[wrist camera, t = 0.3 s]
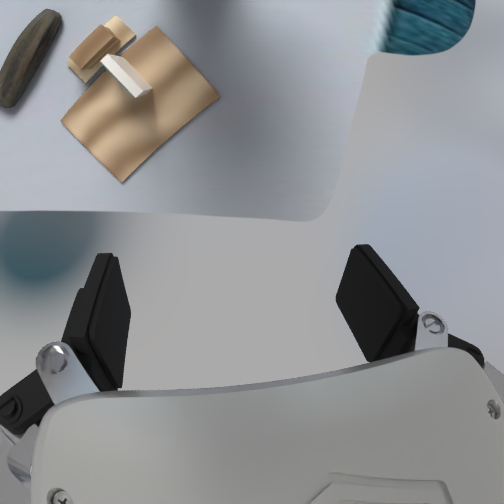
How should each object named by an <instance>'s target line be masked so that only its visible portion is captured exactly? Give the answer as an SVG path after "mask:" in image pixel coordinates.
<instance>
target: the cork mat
mask: <svg viewBox="0 0 504 504" xmlns="http://www.w3.org/2000/svg"><path fill="white" fill-rule="evenodd" d="M120 57H124V58H125V59H126V60H127V61H128V62H129V64H130V65H131V66H132V67H133V68H134V69H135V70H136V71H137V72H138V73H139V74H140V75H141V76H142V77H143V78H144V79H145V80H146V81H147V83H148V84H149V85H150V86H151V87H152V88H153V89H152V90H150V91H149V92H148V93H147V94H145V95H142V96H140V97H137V98H134V97H133V96H132V95H131V94H130V93H129V92H128V91H127V90H126V89H125V88H124V87H123V86H122V85H121V84H120V83H119V82H118V81H117V80H116V79H115V77H114V76H113V75H112V74H111V73H110V72H109V71H108V70H107V69H106V70H105V71H104V72H103V73H102V74H101V75H100V76H99V77H98V78H97V79H96V80H95V81H94V83H93V84H92V85H91V86H90V87H89V88H88V89H87V90H86V91H85V92H84V93H83V94H82V96H81V97H80V98H79V99H78V100H77V101H76V102H75V104H74V105H73V106H72V107H71V108H70V110H69V111H68V112H67V113H66V114H65V116H64V117H63V118H62V119H61V122H62V123H63V124H64V125H65V126H66V127H67V128H68V129H69V130H70V131H71V133H72V134H73V135H74V136H75V137H76V138H77V139H78V140H79V141H80V142H81V143H82V144H83V145H84V146H85V147H86V148H87V149H88V150H89V151H90V152H91V153H92V154H93V155H94V156H95V157H96V158H97V159H98V160H99V161H100V162H101V163H102V164H103V165H104V166H105V167H106V168H107V169H108V170H109V171H110V172H111V173H112V174H113V175H114V176H115V177H116V178H118V179H119V180H120V181H121V182H123V181H124V180H125V179H126V178H127V177H128V176H129V175H130V174H131V173H132V172H133V171H134V170H135V169H136V168H137V167H138V166H139V165H140V164H141V163H142V162H143V161H144V160H145V159H146V158H147V157H149V156H150V155H151V154H152V153H153V152H154V151H155V150H156V149H157V148H158V147H159V146H161V145H162V144H163V143H164V142H165V141H166V140H167V139H168V138H170V137H171V136H172V135H173V134H174V133H175V132H177V131H178V130H179V129H180V128H181V127H183V126H184V125H185V124H186V123H187V122H189V121H190V120H191V119H192V118H193V117H195V116H196V115H197V114H198V113H200V112H201V111H202V110H204V109H205V108H206V107H207V106H209V105H210V104H211V103H213V102H214V101H215V100H217V99H218V98H219V97H220V96H219V95H218V93H217V92H216V91H215V90H214V89H213V88H212V86H211V85H210V84H209V83H208V82H207V81H206V79H205V78H204V77H203V76H202V75H201V74H200V73H199V71H198V70H197V69H196V68H195V67H194V66H193V65H192V64H191V62H190V61H189V60H188V59H187V58H186V57H185V56H184V55H183V54H182V53H181V51H180V50H179V49H178V48H177V47H176V46H175V45H174V44H173V43H172V42H171V41H170V40H169V39H168V37H167V36H166V35H165V34H164V33H163V32H162V31H161V30H160V29H159V28H158V27H157V26H155V27H154V28H153V29H152V30H150V31H149V32H148V33H146V34H145V35H144V36H143V37H142V38H140V39H139V40H138V41H137V42H136V43H134V44H133V45H132V46H131V47H130V48H129V49H128V50H126V51H125V52H124V53H123V54H122V55H121V56H120Z"/></svg>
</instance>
